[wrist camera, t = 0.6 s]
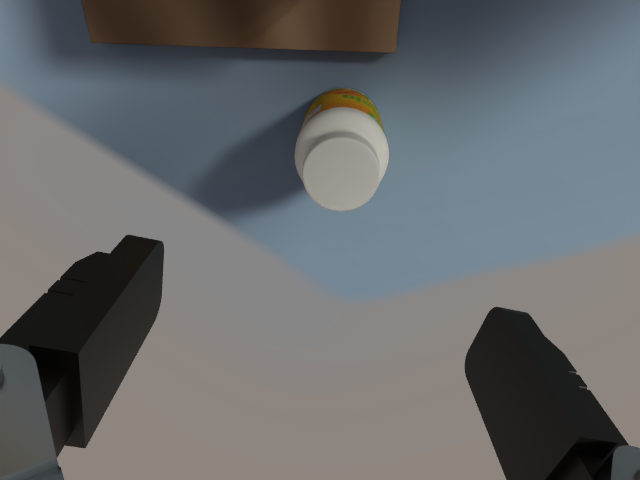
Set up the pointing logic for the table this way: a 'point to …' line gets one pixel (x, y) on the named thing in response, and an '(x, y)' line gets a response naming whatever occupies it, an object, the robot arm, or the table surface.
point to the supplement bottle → (341, 149)
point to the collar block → (247, 23)
